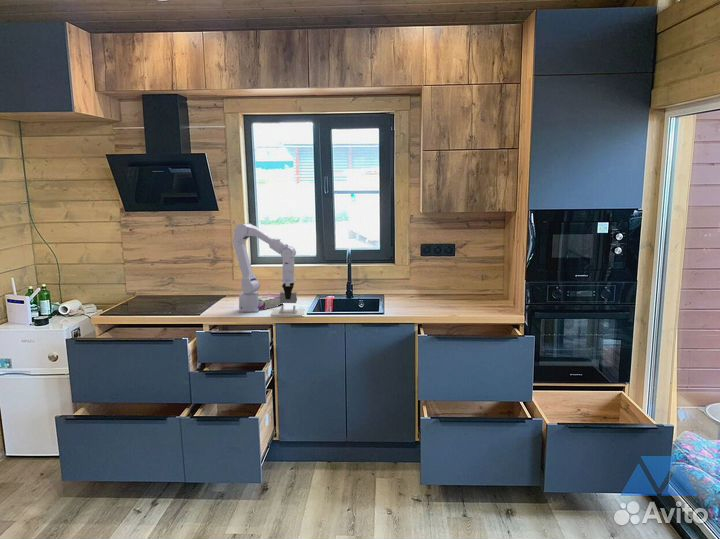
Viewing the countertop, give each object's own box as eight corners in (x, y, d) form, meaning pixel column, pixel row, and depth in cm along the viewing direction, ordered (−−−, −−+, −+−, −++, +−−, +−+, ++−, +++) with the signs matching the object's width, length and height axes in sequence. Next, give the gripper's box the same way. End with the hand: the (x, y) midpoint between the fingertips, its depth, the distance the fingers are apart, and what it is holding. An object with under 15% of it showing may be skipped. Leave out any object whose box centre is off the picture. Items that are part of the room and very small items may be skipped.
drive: (280, 303, 268) (280, 292, 268) (280, 301, 273) (280, 291, 272) (296, 303, 269) (296, 293, 268) (296, 301, 273) (297, 291, 273)
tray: (270, 316, 264) (270, 309, 264) (272, 310, 278) (272, 304, 277) (303, 316, 265) (304, 309, 265) (304, 310, 279) (304, 304, 279)
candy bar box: (268, 302, 298) (247, 307, 284) (268, 293, 297) (247, 297, 283) (284, 305, 292) (264, 309, 278) (284, 296, 292) (264, 300, 278)
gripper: (296, 273, 262) (295, 301, 264) (296, 269, 276) (296, 295, 278) (281, 273, 261) (281, 300, 263) (282, 269, 276) (282, 295, 277)
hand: (288, 298), depth 271 cm, fingers closed on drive, 4 cm apart
